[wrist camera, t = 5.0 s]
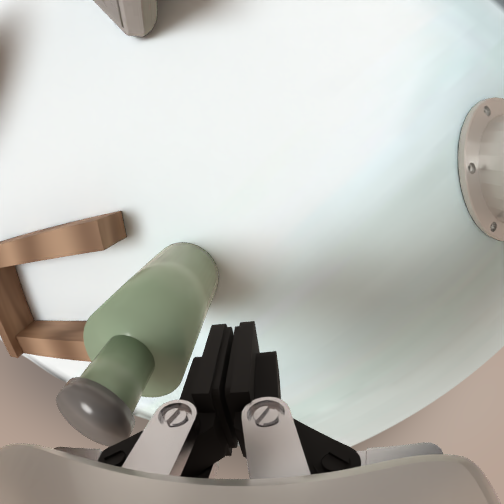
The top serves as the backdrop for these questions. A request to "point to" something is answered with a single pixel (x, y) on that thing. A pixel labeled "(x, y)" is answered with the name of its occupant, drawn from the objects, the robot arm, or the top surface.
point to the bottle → (140, 342)
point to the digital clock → (131, 15)
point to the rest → (42, 248)
